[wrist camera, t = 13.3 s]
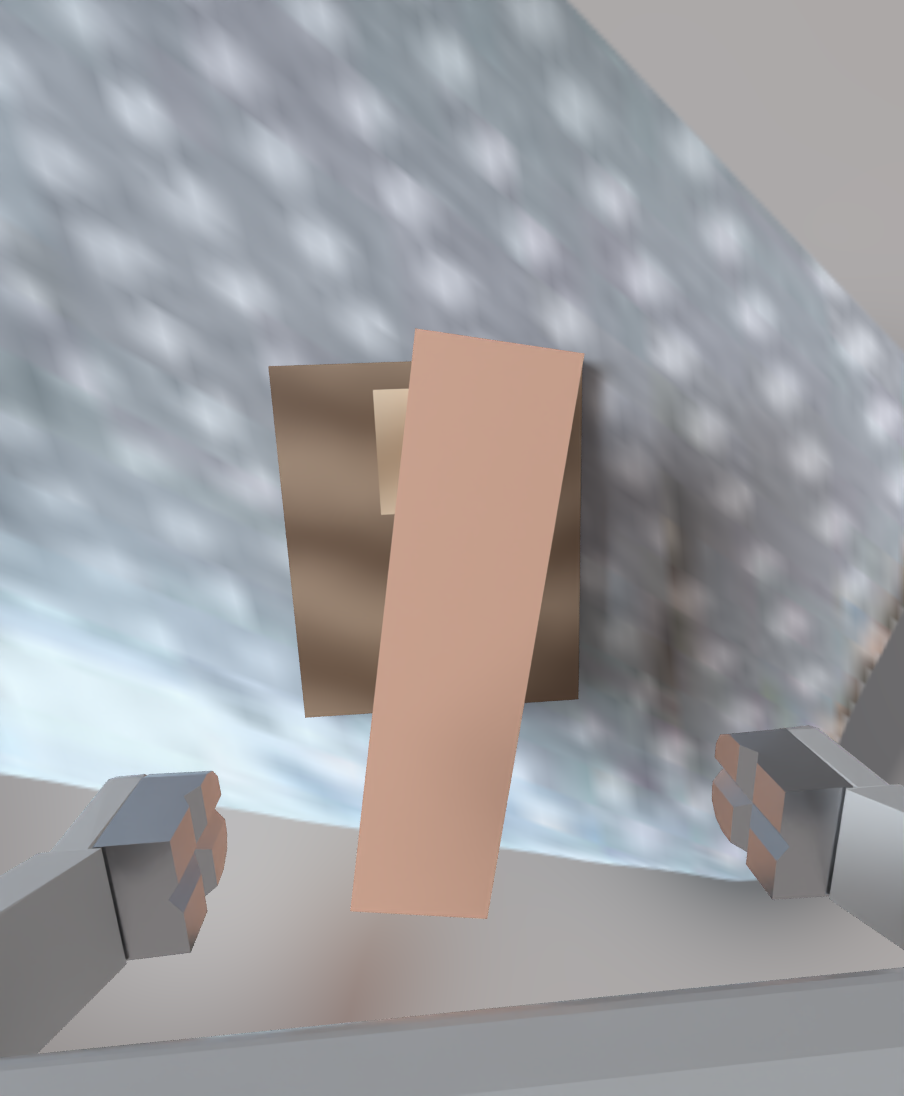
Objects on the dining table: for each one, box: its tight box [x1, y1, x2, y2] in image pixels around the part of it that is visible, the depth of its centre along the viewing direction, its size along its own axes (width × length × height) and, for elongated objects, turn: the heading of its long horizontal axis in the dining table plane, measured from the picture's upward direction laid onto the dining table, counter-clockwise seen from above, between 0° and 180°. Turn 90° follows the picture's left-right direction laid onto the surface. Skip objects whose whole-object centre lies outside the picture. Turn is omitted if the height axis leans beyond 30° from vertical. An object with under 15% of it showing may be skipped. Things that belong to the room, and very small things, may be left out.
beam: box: [351, 329, 584, 919], centre depth 18 cm, size 16×4×5 cm, turn 172°
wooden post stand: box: [268, 361, 582, 718], centre depth 25 cm, size 17×14×10 cm
